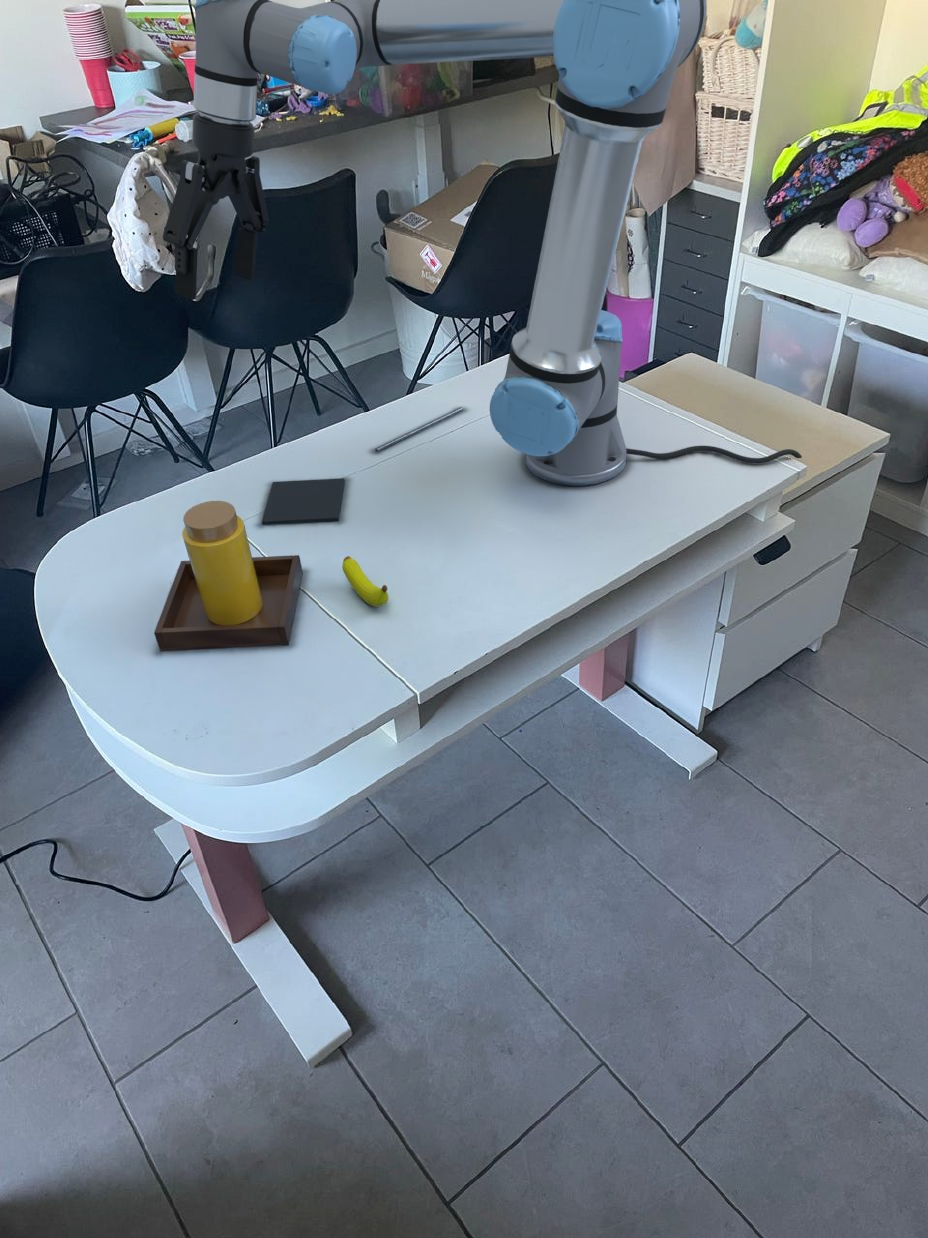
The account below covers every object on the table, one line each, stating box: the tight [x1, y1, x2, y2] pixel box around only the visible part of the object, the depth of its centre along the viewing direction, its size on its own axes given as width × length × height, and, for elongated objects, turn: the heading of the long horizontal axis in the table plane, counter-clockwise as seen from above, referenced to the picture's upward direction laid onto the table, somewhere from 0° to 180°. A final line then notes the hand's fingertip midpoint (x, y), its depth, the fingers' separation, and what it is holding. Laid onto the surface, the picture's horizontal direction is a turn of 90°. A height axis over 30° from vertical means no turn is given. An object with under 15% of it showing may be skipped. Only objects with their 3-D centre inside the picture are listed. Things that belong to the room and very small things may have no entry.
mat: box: [261, 477, 346, 526], centre depth 134 cm, size 11×11×1 cm
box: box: [153, 554, 304, 652], centre depth 114 cm, size 16×15×3 cm
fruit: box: [341, 555, 389, 608], centre depth 114 cm, size 10×2×5 cm, turn 36°
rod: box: [374, 406, 463, 453], centre depth 150 cm, size 1×19×1 cm, turn 135°
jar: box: [181, 500, 263, 625], centre depth 110 cm, size 7×7×14 cm
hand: (216, 286), depth 126 cm, fingers open, 13 cm apart
